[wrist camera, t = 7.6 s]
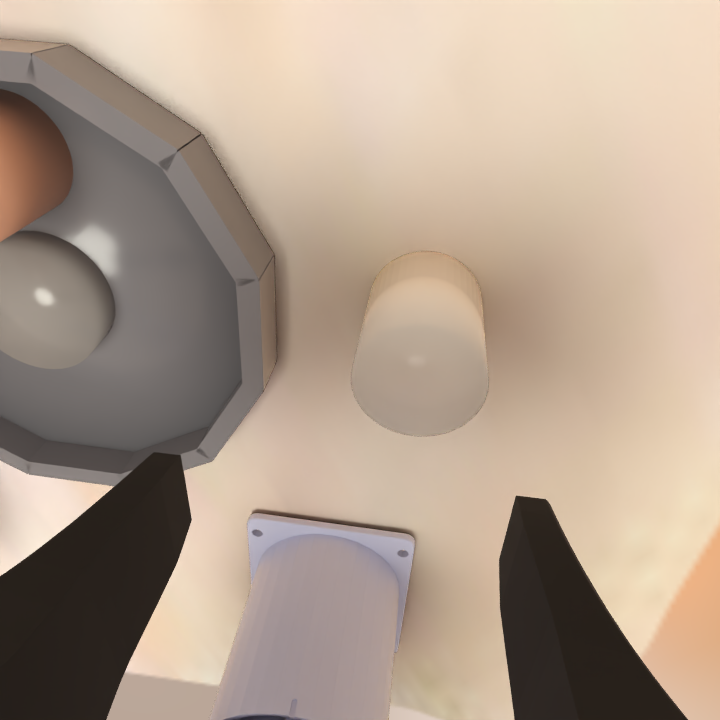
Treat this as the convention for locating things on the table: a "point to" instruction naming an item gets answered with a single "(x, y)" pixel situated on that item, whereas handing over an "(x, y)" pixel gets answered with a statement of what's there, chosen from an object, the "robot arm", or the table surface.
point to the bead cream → (422, 347)
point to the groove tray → (127, 287)
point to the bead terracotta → (29, 163)
